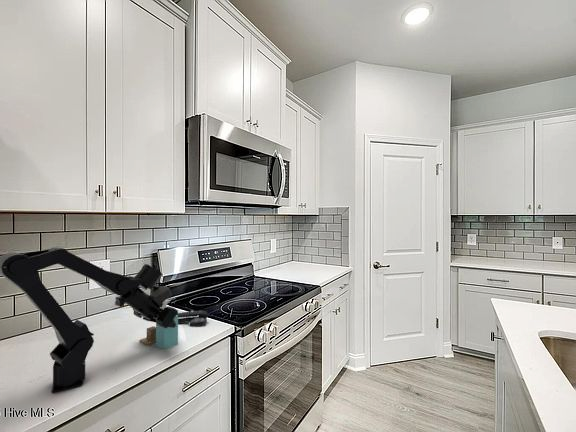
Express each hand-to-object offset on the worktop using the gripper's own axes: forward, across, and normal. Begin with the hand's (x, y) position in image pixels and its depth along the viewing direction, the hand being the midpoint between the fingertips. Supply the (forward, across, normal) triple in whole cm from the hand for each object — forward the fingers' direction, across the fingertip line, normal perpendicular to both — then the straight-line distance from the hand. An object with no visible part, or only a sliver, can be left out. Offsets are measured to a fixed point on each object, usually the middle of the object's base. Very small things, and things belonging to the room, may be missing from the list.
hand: (170, 324), depth 103 cm
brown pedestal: (+3, +7, +7) cm, 10 cm away
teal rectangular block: (+4, 0, +6) cm, 7 cm away
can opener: (+15, +11, -5) cm, 20 cm away
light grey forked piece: (+14, +28, -4) cm, 31 cm away
